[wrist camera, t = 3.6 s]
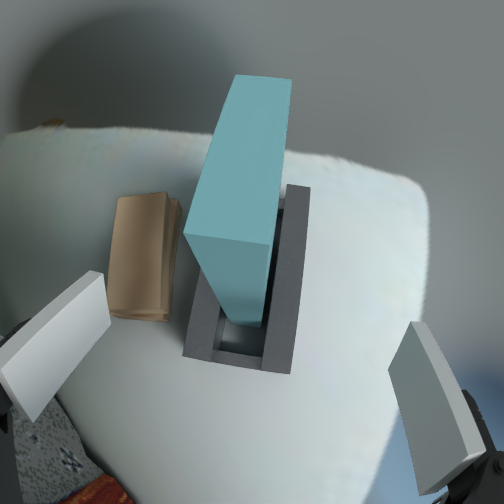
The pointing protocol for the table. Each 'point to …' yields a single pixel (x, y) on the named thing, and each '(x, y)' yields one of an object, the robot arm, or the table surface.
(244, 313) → the teal board
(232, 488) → the table surface
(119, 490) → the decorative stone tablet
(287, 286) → the board rack
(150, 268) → the block
